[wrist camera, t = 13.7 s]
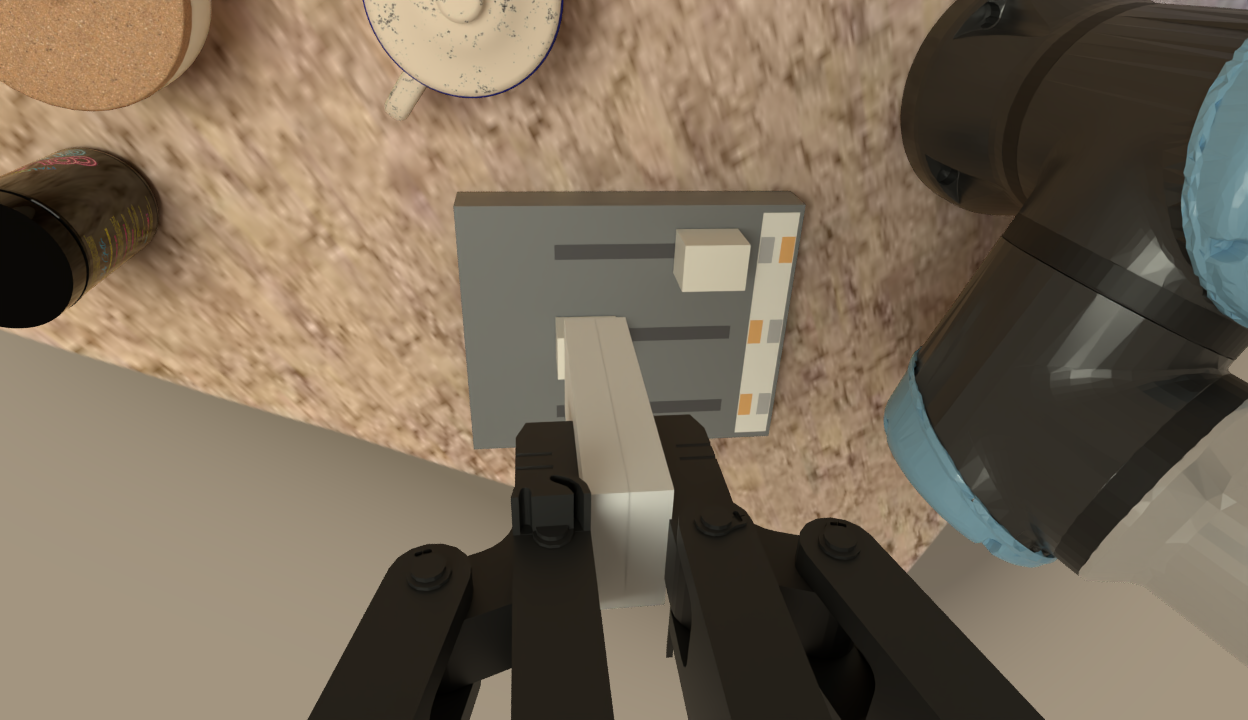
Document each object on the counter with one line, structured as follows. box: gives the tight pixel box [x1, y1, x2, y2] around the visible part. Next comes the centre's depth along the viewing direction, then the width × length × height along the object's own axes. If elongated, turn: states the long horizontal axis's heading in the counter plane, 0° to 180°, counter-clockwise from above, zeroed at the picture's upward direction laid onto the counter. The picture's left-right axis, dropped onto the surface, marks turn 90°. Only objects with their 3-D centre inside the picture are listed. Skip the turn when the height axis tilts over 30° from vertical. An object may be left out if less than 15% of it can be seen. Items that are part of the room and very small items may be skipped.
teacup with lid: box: [363, 0, 563, 121], centre depth 36 cm, size 12×9×12 cm
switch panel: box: [453, 191, 806, 449], centre depth 50 cm, size 22×18×3 cm
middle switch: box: [555, 316, 616, 380], centre depth 47 cm, size 4×3×3 cm
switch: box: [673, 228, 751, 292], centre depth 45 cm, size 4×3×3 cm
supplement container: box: [0, 148, 159, 328], centre depth 39 cm, size 7×7×10 cm
